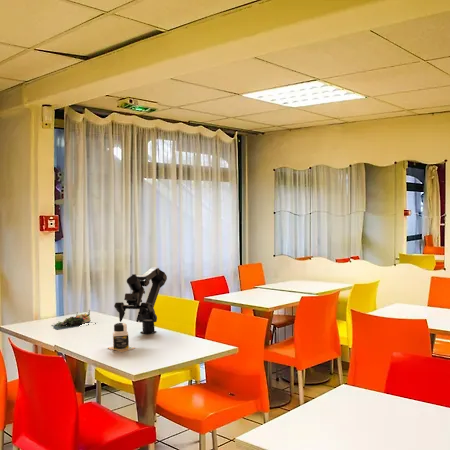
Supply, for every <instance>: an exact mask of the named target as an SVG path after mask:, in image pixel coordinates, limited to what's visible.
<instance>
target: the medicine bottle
mask: <svg viewBox="0 0 450 450" xmlns="http://www.w3.org/2000/svg"><path fill="white" fill-rule="evenodd" d="M127 327H128V325H127V324H126V322H125V323H124V322H117V323H115V324H114V325H113V332H112V342H113V343H112V347H113V348H114V350H113V351H116V350H122V349H129V347H130V346H129V343H130V342H129V337H130V336H129V332H128V330H127V329H128V328H127Z"/></svg>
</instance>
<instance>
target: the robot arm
mask: <svg viewBox="0 0 450 450" xmlns="http://www.w3.org/2000/svg"><path fill="white" fill-rule="evenodd" d="M167 277H168V275H167V274H166V273H165V271H163V270H161V269H160V267H150V268H149V269H148V270H147V271H145V272H144V273H143V274H138V275H137V274H136V273H134V274H131V275H130V276H128V278H127V279H126V283H127V285H128V287H129V289H130V290H131V292H130V293H129V292H128V293H125V294H124V301H126V303H127V304H124V302H123V301H117V302H115V303H114V309H115V310H116V312H117V313H118V314H119V315H118V316H119V318H118V319H119V323H122V321H123V319H124V316H125V314H126V310H138V313H137V316H136V319H135V320H136V323H142V331H140V332H139V333H140V334H144V335H151V334H154V333H157V330H155V323H156V322H157V320H158V316H157V315H156V311H155V308H154V307H155V305H156V301H157V299H158V295H159V292H160V289H161V288H162V287H163V286H165V284H166V282H167V280H168V278H167ZM150 281H151V287H150V289H149V293H148V296H147V299H146V301H145V302H143V300H142V298H143V296H144V294H146V291H145V288H144V287H148V286H149V285H150Z"/></svg>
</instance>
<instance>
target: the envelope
mask: <svg viewBox="0 0 450 450" xmlns="http://www.w3.org/2000/svg"><path fill="white" fill-rule="evenodd" d="M107 348H108V349H109V350H113V351H115V352H120V353H123V352H127V351H130V350H134V349H136V348H135V347H132V346H129V349H122V350H114V348H113V346H110V347H107Z"/></svg>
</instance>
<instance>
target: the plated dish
mask: <svg viewBox="0 0 450 450" xmlns="http://www.w3.org/2000/svg"><path fill="white" fill-rule="evenodd" d="M90 315H91V310H90V309H89V310H88V312H86V313H85V312H84V313H81V314H78V311H77V312H76V316H70V317H68V318H65V319H64V320H63V321H58V322H56V323H55V322H53V323H52V324H51V327H52V329H53V330H56V331H61V330H66V329H72V328H79V326H80V325H82V324H85V323H88V322H89V323H91V316H90ZM94 323H95V324H94V325H97V324H96V323H97V322H94ZM87 326H90V325H89V324H88V325H87ZM80 327H81V326H80Z"/></svg>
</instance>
